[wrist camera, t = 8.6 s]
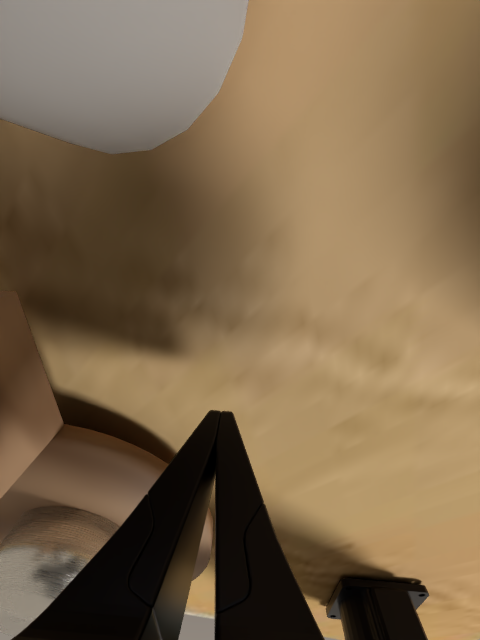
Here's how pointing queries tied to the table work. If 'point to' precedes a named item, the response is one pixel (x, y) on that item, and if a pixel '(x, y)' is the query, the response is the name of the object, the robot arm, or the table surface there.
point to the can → (114, 67)
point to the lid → (45, 559)
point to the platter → (62, 446)
